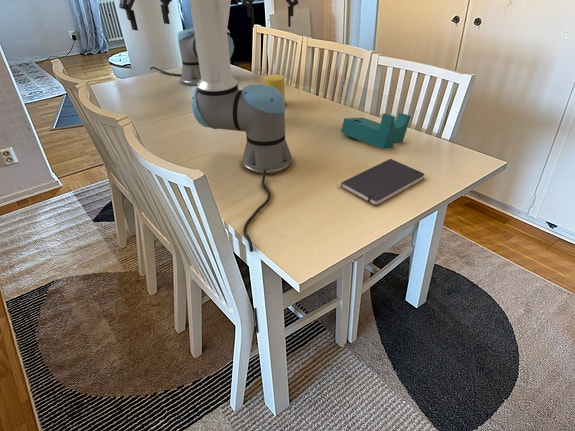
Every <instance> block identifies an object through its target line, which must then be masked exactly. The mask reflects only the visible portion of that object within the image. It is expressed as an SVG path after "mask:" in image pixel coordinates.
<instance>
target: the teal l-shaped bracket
mask: <svg viewBox="0 0 575 431" xmlns="http://www.w3.org/2000/svg"><path fill="white" fill-rule="evenodd" d="M411 117H412V116H411V115H408V114H407V113H404V112H403V113H402V112H398V115H397V117H396V116H394V115H391V114H389V113H382V117H381V120H380V122H378V121H375V120H371V119H369V118H365V117H344V118H343V122H342V126H341V131H340V133H341V134H344V135H345V136H347V137H348V136H349V137H351V138H353V139H356V140H359V141H361V142H363V143H367V144H368V145H372V146H374V147H377V148H379V149H382V150H389V149H394V145H396V144H403V143H404V139H405V138H406V137H405V136H406V133H407V129H408V126H409V123H410V119H411Z"/></svg>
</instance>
